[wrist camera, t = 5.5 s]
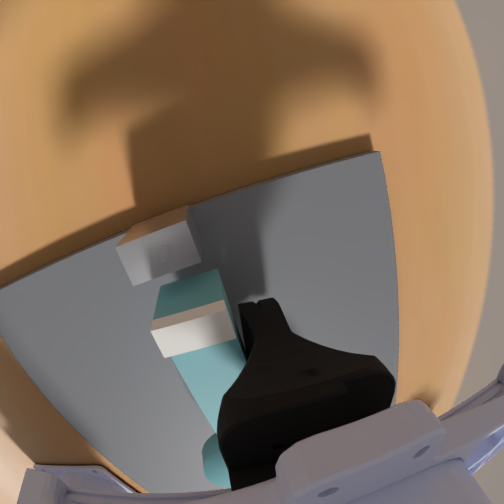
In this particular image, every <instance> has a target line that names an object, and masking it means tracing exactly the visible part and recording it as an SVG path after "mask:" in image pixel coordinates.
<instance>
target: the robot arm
mask: <svg viewBox="0 0 504 504" xmlns="http://www.w3.org/2000/svg"><path fill="white" fill-rule="evenodd" d="M238 308H239V314H240V320H241V327H242V333H243V339H244V344H245V349H246V353H247V357H248V360H247V362H246V364H245V366H244V368H243V369H242V371H241V373H240V374H239V376H238V377H237V379H236V380H235V382H234V383H233V384H232V385H231V387H230V388H229V389H228V390H227V391H226V393H225V394H224V395H223V397H222V401H221V405H220V409H219V414H218V420H217V438H218V444H219V450H220V452H221V455H222V457H223V459H224V462H225V464H226V467H227V469H228V473H229V479H230V485H231V488H228V489H220V490H211V491H200V492H185V493H137V492H136V491H134V490H133V489H131V488H130V487H129V486H127V485H126V484H124V483H123V482H122V481H120V480H119V479H118V478H116V477H115V476H114V475H112V474H111V473H110V472H109V471H107V470H106V469H105V468H103V467H102V466H97V465H96V466H56V465H38V464H34V467H33V468H34V469H35V470H34V469H30V468H28V469H26V472H25V476H24V479H23V483H22V486H21V490H20V493H19V497H18V501H17V504H493V503H492V502H491V500H490V499H489V498H488V496H487V495H486V494H485V492H484V491H483V489H482V488H481V487H480V485H479V484H478V483H477V481H476V480H475V478H474V477H473V476H472V474H473V473H475V472H476V471H477V470H478V469H479V468H480V467H482V466H483V465H484V464H485V463H486V462H487V461H488V460H490V459H491V458H492V457H493V456H494V455H495V454H496V453H497V452H498V451H499V450H500V449H501V448H502V447H503V446H504V364H503V365H502V367H501V369H500V371H499V373H498V376H497V378H496V379H495V380H494V381H492V382H491V383H490V384H488V385H487V386H486V387H484V388H483V389H481V390H480V391H479V392H477V393H476V394H474V395H473V396H471V397H470V398H468V399H467V400H465V401H464V402H462V403H461V404H459V405H457V406H456V407H454V408H453V409H451V410H449V411H448V412H446V413H444V414H443V415H441V416H439V417H438V418H437V417H436V416H435V414H434V413H433V412H432V411H431V409H430V408H429V407H428V406H427V405H426V403H425V402H423V401H421V400H419V399H414V400H410V401H406V402H403V403H399V404H397V405H395V406H393V407H390V406H391V403H392V399H393V396H394V393H395V387H396V382H395V378H394V376H393V375H392V374H391V373H390V371H389V370H388V369H387V368H386V366H385V365H384V364H383V363H382V362H381V361H380V360H379V359H378V358H377V357H376V356H373V355H365V354H356V353H350V352H345V351H341V350H336V349H333V348H329V347H326V346H323V345H320V344H317V343H314V342H312V341H310V340H307V339H305V338H303V337H301V336H299V335H297V334H295V333H293V332H292V331H291V329H290V327H289V325H288V323H287V321H286V318H285V316H284V314H283V311H282V309H281V307H280V305H279V303H278V302H277V300H275V299H274V298H273V297H272V298H267V299H262V300H258V302H257V303H254V302H253V301H251V302H246V303H240V304H238Z"/></svg>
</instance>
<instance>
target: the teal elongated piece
mask: <svg viewBox="0 0 504 504" xmlns="http://www.w3.org/2000/svg"><path fill="white" fill-rule="evenodd" d="M151 333H152V335H153V337H154V339H155V341H156V343H157V345H158V347H159V349H160V351H161V353H162V355H163V356H164V358H167V357H172V359H173V361H174V363H175V365H176V367H177V369H178V370H179V372H180V374H181V376H182V378H183V379H184V381H185V383H186V385H187V386H188V388H189V390H190V392H191V393H192V395H193V397H194V398H195V400H196V402H197V404H198V405H199V407H200V408H201V410H202V412H203V413H204V415H205V417H206V418H207V420H208V421H209V423H210V425H211V426H212V428H213V429H214V431H215V432H216V433H215V434H213V435H212V436H211V437H210V438H209V439H208V440H207V441H206V442H205V444H204V446H203V448H202V458H203V468H204V474H205V477H206V478H207V479H208V480H209V481H210V482H212V483H213V484H215V485H218V486H220V487H223V488H227V489H228V488H231V485H230V479H229V473H228V469H227V467H226V464H225V462H224V459H223V457H222V455H221V452H220V450H219V444H218V438H217V420H218V414H219V409H220V405H221V401H222V397H223V395H224V394H225V393H226V391H227V390H228V389H229V388H230V387H231V385H232V384H233V383H234V382H235V380H236V379H237V377H238V376H239V374H240V373H241V371H242V369H243V368H244V366H245V364H246V362H247V360H248V357H247V353H246V350H245V347H244V344H243V342H242V339H241V336H240V333H239V330H238V327H237V324H236V321H235V319H234V316H233V313H232V310H231V307H230V304H229V301H228V298H227V295H226V292H225V289H224V286H223V283H222V280H221V277H220V274H219V271H218V268H217V269H214V270H211V271H207V272H204V273H201V274H198V275H194V276H191V277H188V278H184V279H181V280H178V281H175V282H171V283H168V284H165V285H161V286H160V290H159V294H158V299H157V303H156V307H155V312H154V317H153V321H152V326H151Z"/></svg>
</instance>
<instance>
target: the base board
mask: <svg viewBox="0 0 504 504" xmlns="http://www.w3.org/2000/svg"><path fill="white" fill-rule="evenodd" d="M189 207H190V209H191V212H192V215H193V218H194V221H195V223H196V226H197V229H198V232H199V234H200V242H201V261H202V262H200V263H197V264H194V265H192V266H189V267H186V268H183V269H180V270H177V271H175V272H172V273H169V274H166V275H163V276H160V277H158V278H155V279H152V280H149V281H146V282H144V283H141V284H138V285H135V286H133V285H132V283H131V281H130V279H129V277H128V274H127V272H126V270H125V268H124V266H123V264H122V261H121V259H120V257H119V255H118V253H117V250H116V248H115V247H116V246H117V244H118V243H119V242H120V241H121V240H122V238H123V237H124V236H125V235H126V234H127V232H128V231H129V230H130V229H131V228H130V229H127V230H125V231H122V232H120V233H117V234H115V235H113V236H110V237H108V238H105V239H103V240H101V241H98V242H96V243H94V244H91V245H89V246H87V247H84V248H82V249H80V250H77V251H75V252H73V253H71V254H68V255H66V256H64V257H62V258H60V259H57V260H55V261H53V262H51V263H49V264H47V265H44V266H42V267H40V268H38V269H36V270H34V271H32V272H30V273H28V274H26V275H24V276H22V277H20V278H18V279H16V280H14V281H12V282H10V283H8V284H6V285H4V286H2V287H0V335H1V337H2V338H3V340H4V342H5V343H6V345H7V346H8V348H9V349H10V351H11V352H12V354H13V355H14V357H15V358H16V360H17V361H18V362H19V364H20V365H21V367H22V368H23V369H24V371H25V372H26V373H27V375H28V376H29V377H30V379H31V380H32V381H33V383H34V384H35V385H36V386H37V388H38V389H39V390H40V391H41V393H42V394H43V395H44V396H45V397H46V399H47V400H48V401H49V402H50V403H51V404H52V405H53V407H54V408H55V409H56V410H57V411H58V412H59V413H60V414H61V416H62V417H63V418H64V419H65V420H66V421H67V422H68V423H69V424H70V425H71V426H72V427H73V428H74V429H75V430H76V431H77V432H78V433H79V434H80V435H81V436H82V437H83V438H84V439H85V440H86V441H87V442H88V443H89V444H90V445H91V446H92V447H94V448H95V449H96V450H97V451H98V452H99V453H100V454H101V455H102V456H104V457H105V458H106V459H107V460H108V461H109V462H111V463H112V464H113V465H114V466H115V467H117V468H118V469H119V470H120V471H122V472H123V473H124V474H125V475H127V476H128V477H129V478H131V479H132V480H133V481H135V482H136V483H137V484H139V485H140V486H141V487H143V488H144V489H146V490H147V491H148V492H150V493H185V492H200V491H211V490H217V489H222V488H223V487H220V486H218V485H215V484H213V483H212V482H210V481H209V480H208V479H207V478H206V477H205V474H204V468H203V458H202V448H203V446H204V444H205V442H206V441H207V440H208V439H209V438H210V437H211V436H212V435H213V434H215V431H214V429H213V428H212V426H211V425H210V423H209V421H208V420H207V418H206V417H205V415H204V413H203V412H202V410H201V408H200V407H199V405H198V404H197V402H196V400H195V398H194V397H193V395H192V393H191V392H190V390H189V388H188V386H187V385H186V383H185V381H184V379H183V378H182V376H181V374H180V372H179V370H178V369H177V367H176V365H175V363H174V361H173V359H172V357H167V358H164V356H163V355H162V353H161V351H160V349H159V347H158V345H157V343H156V341H155V339H154V337H153V335H152V333H151V326H152V321H153V317H154V312H155V307H156V303H157V299H158V294H159V290H160V286H161V285H165V284H168V283H171V282H175V281H178V280H181V279H184V278H188V277H191V276H194V275H198V274H201V273H204V272H207V271H211V270H214V269H217V268H218V271H219V274H220V277H221V280H222V283H223V286H224V289H225V292H226V295H227V298H228V301H229V304H230V307H231V310H232V313H233V316H234V319H235V321H236V324H237V327H238V330H239V333H240V336H241V339H242V342H243V344H244V339H243V333H242V327H241V320H240V314H239V308H238V304H240V303H246V302H251V301H253V302H254V303H257V302H258V300H262V299H267V298H272V297H273V298H274V299H275V300H277V302H278V303H279V305H280V307H281V309H282V311H283V314H284V316H285V318H286V321H287V323H288V325H289V327H290V329H291V331H292V332H293V333H295V334H297V335H299V336H301V337H303V338H305V339H307V340H310V341H312V342H314V343H317V344H320V345H323V346H326V347H329V348H333V349H336V350H341V351H345V352H350V353H356V354H365V355H373V356H376V357H377V358H378V359H379V360H380V361H381V362H382V363H383V364H384V365H385V366H386V368H387V369H388V370H389V371H390V373H391V374H392V375H393V376H394V378H395V382H396V387H395V393H394V396H393V399H392V403H391V406H390V407H393V406H395V403H396V392H397V377H398V353H399V307H398V283H397V268H396V255H395V245H394V235H393V227H392V219H391V211H390V204H389V198H388V192H387V186H386V180H385V174H384V169H383V164H382V159H381V154H380V151H368V152H364V153H360V154H356V155H352V156H349V157H345V158H341V159H337V160H333V161H330V162H326V163H322V164H319V165H315V166H312V167H308V168H305V169H301V170H298V171H294V172H291V173H288V174H284V175H281V176H278V177H274V178H271V179H268V180H265V181H262V182H258V183H255V184H252V185H249V186H246V187H243V188H240V189H237V190H234V191H231V192H228V193H225V194H222V195H219V196H216V197H213V198H210V199H207V200H204V201H202V202H199V203H196V204H193V205H190V206H189ZM244 347H245V344H244ZM245 350H246V349H245Z"/></svg>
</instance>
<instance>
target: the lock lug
mask: <svg viewBox="0 0 504 504" xmlns="http://www.w3.org/2000/svg"><path fill="white" fill-rule="evenodd" d="M115 248H116V250H117V253H118V255H119V257H120V259H121V261H122V264H123V266H124V268H125V270H126V272H127V274H128V277H129V279H130V281H131V283H132V285H133V286H135V285H138V284H141V283H144V282H146V281H149V280H152V279H155V278H158V277H160V276H163V275H166V274H169V273H172V272H175V271H177V270H180V269H183V268H186V267H189V266H192V265H194V264H197V263H200V262H202V261H201V242H200V234H199V232H198V229H197V226H196V223H195V221H194V218H193V215H192V212H191V209H190V207H189V204H187V205H185V206H182V207H179V208H176V209H174V210H171V211H168V212H166V213H163V214H160V215H158V216H155V217H152V218H150V219H147V220H145V221H142V222H140V223H137V224H135V225H133V226H132V228H131V229H130V230H129V231H128V232H127V234H126V235H125V236H124V237H123V238H122V240H121V241H120V242H119V243H118V244H117V246H116V247H115Z"/></svg>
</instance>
